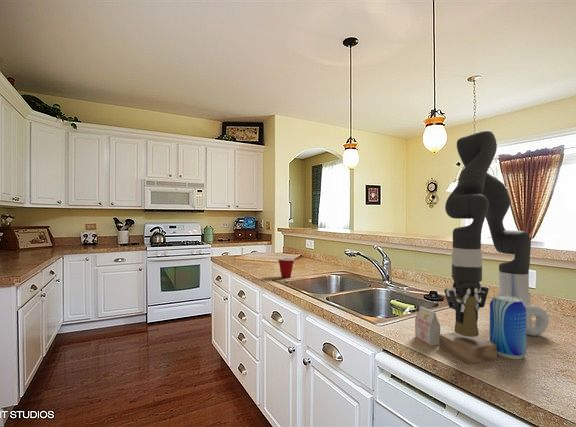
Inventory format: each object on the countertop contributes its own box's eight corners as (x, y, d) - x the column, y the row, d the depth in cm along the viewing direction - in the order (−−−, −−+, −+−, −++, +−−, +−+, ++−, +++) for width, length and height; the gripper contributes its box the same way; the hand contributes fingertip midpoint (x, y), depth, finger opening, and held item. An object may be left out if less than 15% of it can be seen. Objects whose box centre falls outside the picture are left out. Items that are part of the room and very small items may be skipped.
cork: (482, 337, 83) (482, 297, 82) (458, 335, 84) (458, 296, 84) (473, 329, 88) (473, 292, 88) (451, 327, 90) (451, 291, 90)
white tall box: (424, 335, 98) (424, 305, 98) (440, 344, 92) (440, 312, 92) (415, 337, 97) (415, 306, 97) (430, 345, 91) (430, 313, 91)
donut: (523, 338, 96) (523, 307, 96) (514, 333, 99) (514, 303, 99) (552, 337, 97) (552, 306, 97) (542, 332, 100) (542, 303, 100)
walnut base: (466, 343, 92) (466, 330, 92) (496, 358, 82) (496, 344, 82) (439, 347, 90) (439, 334, 90) (467, 363, 80) (467, 349, 80)
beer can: (514, 363, 80) (514, 303, 80) (483, 350, 88) (483, 295, 88) (533, 357, 84) (532, 299, 83) (501, 344, 91) (501, 292, 91)
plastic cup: (298, 277, 185) (298, 258, 185) (283, 279, 180) (283, 259, 180) (289, 274, 194) (289, 256, 194) (274, 276, 189) (274, 257, 189)
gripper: (475, 260, 91) (475, 316, 92) (436, 262, 88) (436, 321, 88) (498, 264, 84) (498, 325, 84) (456, 267, 80) (457, 330, 81)
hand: (466, 322), depth 86 cm, fingers closed on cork, 3 cm apart
